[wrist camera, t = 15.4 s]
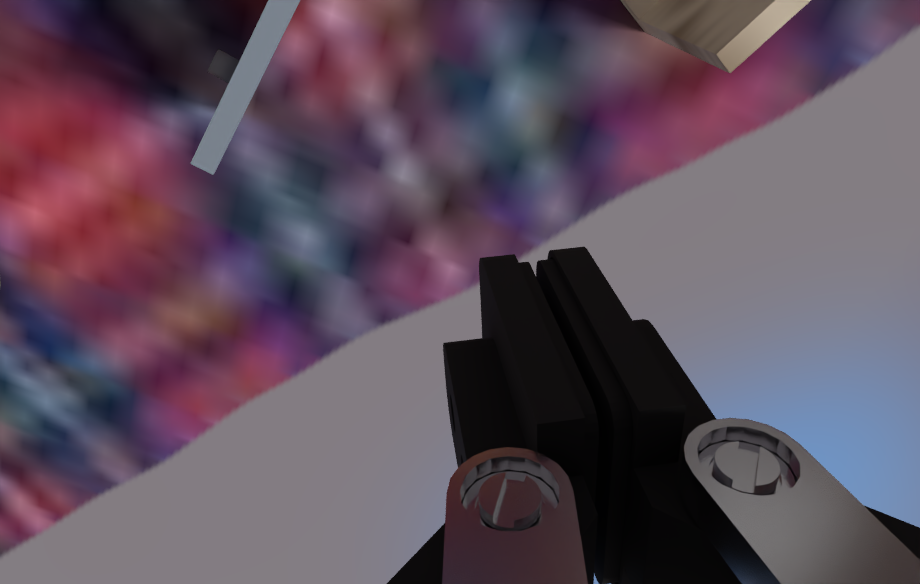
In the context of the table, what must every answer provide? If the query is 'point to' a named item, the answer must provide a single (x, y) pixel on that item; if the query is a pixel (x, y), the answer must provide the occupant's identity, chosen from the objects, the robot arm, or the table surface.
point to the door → (241, 81)
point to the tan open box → (714, 25)
